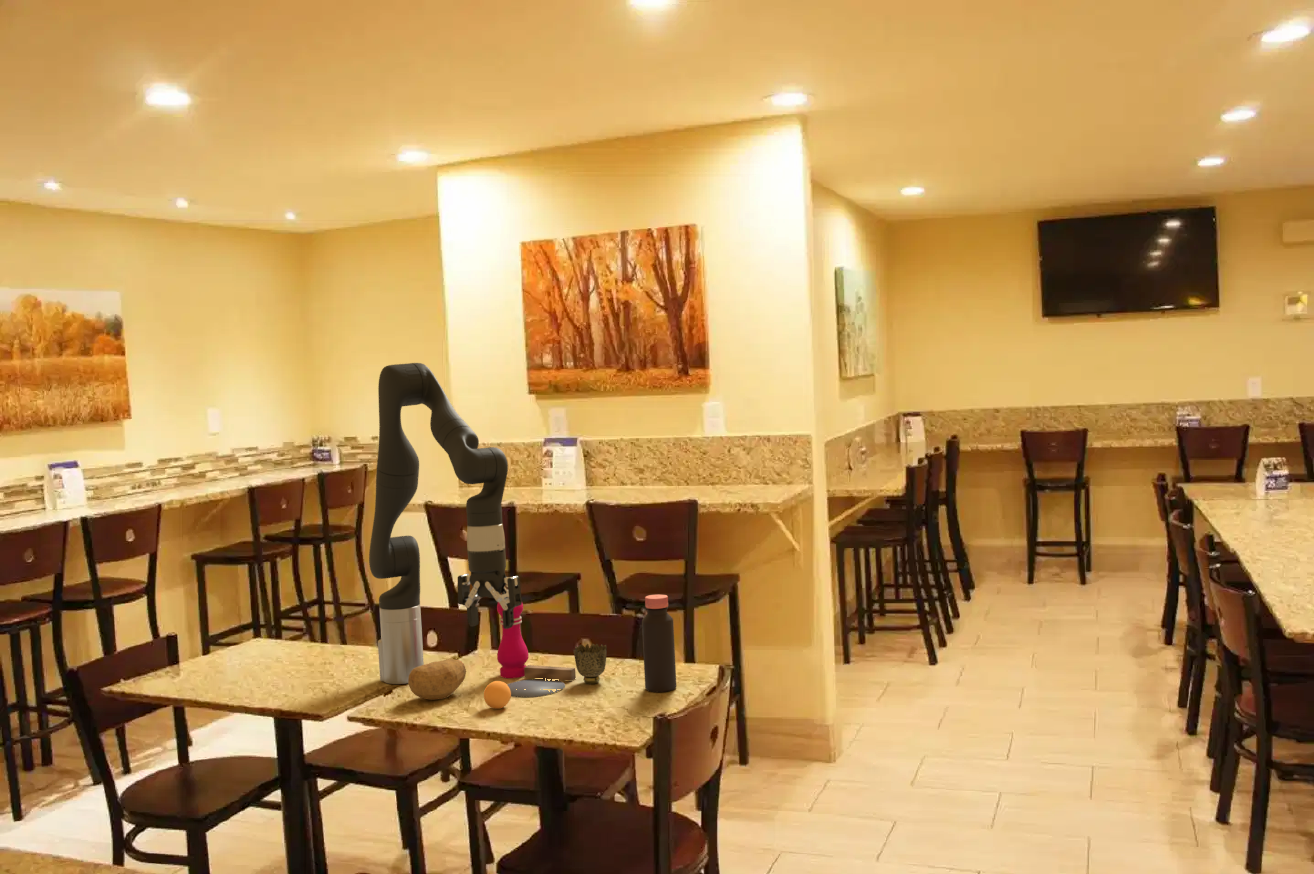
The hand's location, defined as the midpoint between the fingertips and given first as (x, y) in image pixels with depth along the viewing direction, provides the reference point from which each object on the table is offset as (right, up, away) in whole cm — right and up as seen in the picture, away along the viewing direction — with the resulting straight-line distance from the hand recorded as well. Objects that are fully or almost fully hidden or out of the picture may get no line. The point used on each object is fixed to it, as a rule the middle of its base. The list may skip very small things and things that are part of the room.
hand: (491, 626), depth 218 cm
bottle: (+34, -16, +15) cm, 41 cm away
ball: (0, -15, +6) cm, 16 cm away
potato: (-14, -18, +16) cm, 28 cm away
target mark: (+6, -17, +20) cm, 27 cm away
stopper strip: (+9, -17, +27) cm, 33 cm away
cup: (+19, -17, +22) cm, 33 cm away
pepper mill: (0, -17, +32) cm, 36 cm away
